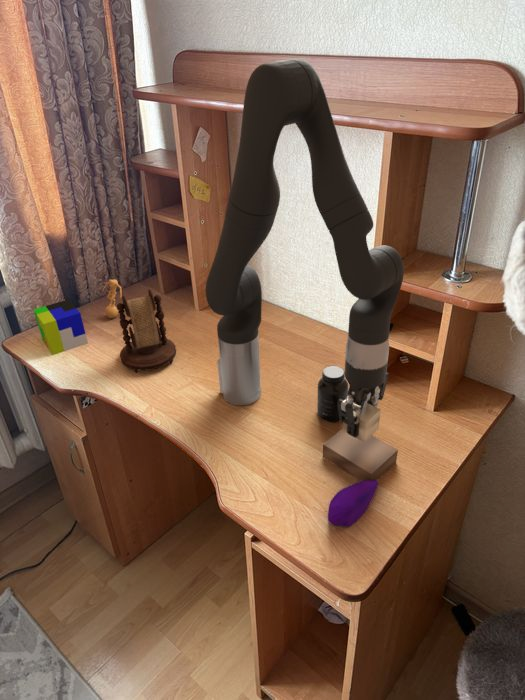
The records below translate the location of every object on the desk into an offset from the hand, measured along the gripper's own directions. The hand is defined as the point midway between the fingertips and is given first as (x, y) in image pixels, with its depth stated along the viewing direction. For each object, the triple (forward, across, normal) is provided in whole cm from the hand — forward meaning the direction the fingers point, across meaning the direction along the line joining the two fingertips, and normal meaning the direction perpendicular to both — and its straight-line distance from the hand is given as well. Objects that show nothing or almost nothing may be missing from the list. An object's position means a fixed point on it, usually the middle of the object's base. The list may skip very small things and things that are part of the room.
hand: (360, 427), depth 106 cm
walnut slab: (+10, -1, 0) cm, 10 cm away
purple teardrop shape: (+10, +10, +6) cm, 16 cm away
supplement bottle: (+10, -9, -13) cm, 19 cm away
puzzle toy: (+9, +14, -90) cm, 92 cm away
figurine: (+9, -4, -91) cm, 92 cm away
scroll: (+9, +4, -64) cm, 65 cm away
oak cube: (+1, 0, 0) cm, 1 cm away
